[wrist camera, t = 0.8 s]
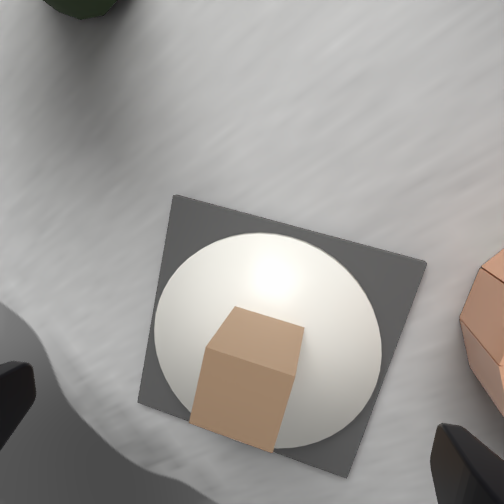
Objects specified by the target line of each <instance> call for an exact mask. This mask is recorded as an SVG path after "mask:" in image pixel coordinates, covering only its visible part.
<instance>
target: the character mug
mask: <svg viewBox="0 0 504 504" xmlns="http://www.w3.org/2000/svg"><path fill="white" fill-rule="evenodd" d="M43 1H45V2H46V3H47V4H49V5H50V6H52V7H53V8H54V9H56V10H57V11H59V12H61V13H63V14H66V15H69V16H72V17H75V18H77V19H80V20H82V19H87V18H92V17H97V16H103V15H104V14H105V13H106V12H107V11H108V10H109V9H110V8H111V7H112V6H113V5H114V4H115V2H116V1H117V0H43Z"/></svg>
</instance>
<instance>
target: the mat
mask: <svg viewBox="0 0 504 504" xmlns="http://www.w3.org/2000/svg"><path fill="white" fill-rule="evenodd" d="M257 232H264V233H277V234H281V235H286V236H291V237H294V238H297V239H300V240H303V241H306V242H308V243H310V244H312V245H314V246H316V247H318V248H320V249H322V250H323V251H325V252H326V253H328V254H329V255H331V256H332V257H334V258H335V259H336V260H337V261H339V262H340V263H341V264H342V265H343V266H344V267H346V268H347V270H348V271H349V272H350V273H351V274H352V275H353V276H354V277H355V279H356V280H357V281H358V283H359V284H360V285H361V287H362V288H363V290H364V291H365V293H366V295H367V297H368V299H369V301H370V303H371V305H372V307H373V310H374V313H375V316H376V319H377V323H378V326H379V332H380V337H381V350H382V358H381V366H380V373H379V376H378V380H377V383H376V386H375V388H374V391H373V393H372V395H371V397H370V399H369V400H368V402H367V403H366V405H365V407H364V408H363V410H362V411H361V412H360V413H359V414H358V415H357V416H356V417H355V419H354V420H353V421H351V422H350V423H349V424H348V425H347V426H345V427H344V428H343V429H342V430H340V431H338V432H337V433H335V434H333V435H332V436H330V437H328V438H325V439H323V440H321V441H319V442H316V443H312V444H309V445H306V446H300V447H294V448H279V449H277V448H274V450H273V452H275V453H278V454H281V455H284V456H286V457H289V458H292V459H295V460H298V461H300V462H303V463H306V464H309V465H311V466H314V467H317V468H320V469H322V470H325V471H328V472H331V473H333V474H336V475H339V476H342V477H344V478H347V477H348V474H349V471H350V469H351V466H352V463H353V461H354V458H355V455H356V453H357V450H358V447H359V445H360V442H361V439H362V437H363V434H364V431H365V429H366V426H367V423H368V421H369V418H370V415H371V413H372V410H373V407H374V405H375V402H376V399H377V397H378V394H379V391H380V388H381V386H382V383H383V380H384V378H385V375H386V372H387V370H388V367H389V364H390V362H391V359H392V356H393V354H394V351H395V348H396V346H397V343H398V340H399V338H400V335H401V332H402V330H403V327H404V324H405V322H406V319H407V316H408V314H409V311H410V308H411V306H412V303H413V300H414V297H415V295H416V292H417V289H418V287H419V284H420V281H421V279H422V276H423V273H424V271H425V268H426V265H427V263H426V262H425V261H423V260H419V259H415V258H412V257H408V256H404V255H400V254H397V253H393V252H389V251H385V250H382V249H378V248H374V247H370V246H367V245H363V244H359V243H355V242H352V241H348V240H344V239H341V238H337V237H333V236H329V235H326V234H322V233H318V232H314V231H311V230H307V229H303V228H299V227H296V226H292V225H288V224H284V223H281V222H277V221H273V220H269V219H266V218H262V217H258V216H255V215H251V214H247V213H243V212H240V211H236V210H232V209H228V208H225V207H221V206H217V205H213V204H210V203H206V202H202V201H198V200H195V199H191V198H187V197H183V196H180V195H173V199H172V205H171V211H170V217H169V223H168V228H167V234H166V240H165V246H164V252H163V257H162V263H161V269H160V275H159V281H158V286H157V292H156V298H155V304H154V309H153V315H152V321H151V327H150V333H149V338H148V344H147V350H146V356H145V362H144V367H143V373H142V379H141V385H140V391H139V396H138V403H140V404H143V405H146V406H149V407H151V408H154V409H157V410H160V411H162V412H165V413H168V414H171V415H173V416H176V417H179V418H182V419H184V420H187V421H189V420H190V416H191V412H189V410H188V409H187V408H186V407H185V406H184V405H183V404H182V403H181V402H180V400H179V399H178V398H177V396H176V395H175V394H174V392H173V391H172V389H171V387H170V386H169V384H168V382H167V380H166V379H165V376H164V374H163V372H162V369H161V367H160V364H159V360H158V357H157V353H156V346H155V338H154V325H155V315H156V311H157V307H158V303H159V300H160V297H161V295H162V292H163V290H164V288H165V286H166V285H167V283H168V281H169V279H170V278H171V277H172V275H173V274H174V273H175V271H176V270H177V269H178V268H179V267H180V266H181V265H182V264H183V263H184V262H185V261H186V260H187V259H188V258H189V257H191V256H192V255H194V254H195V253H197V252H198V251H199V250H201V249H202V248H204V247H206V246H208V245H210V244H212V243H214V242H216V241H218V240H221V239H224V238H227V237H230V236H234V235H239V234H244V233H257Z"/></svg>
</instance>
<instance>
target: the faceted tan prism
mask: <svg viewBox="0 0 504 504" xmlns="http://www.w3.org/2000/svg"><path fill="white" fill-rule="evenodd" d="M481 267H482V268H480V269H479V271H478V274H477V276H476V279H475V281H474V283H473V286H472V288H471V291H470V293H469V295H468V298H467V300H466V303H465V305H464V307H463V310H462V312H461V315H460V324H461V328H462V333H463V338H464V343H465V347H466V352H467V357H468V361H469V366H470V368H471V369H472V371H473V372H474V374H475V375H476V377H477V378H478V380H479V381H480V383H481V384H482V386H483V387H484V389H485V390H486V392H487V393H488V395H489V396H490V398H491V399H492V401H493V402H494V404H495V405H496V407H497V408H498V410H499V411H500V413H501V414H502V416H503V417H504V249H503V250H501V251H500V252H499V253H498V254H496V255H495V256H494V257H492V258H491V259H490V260H489V261H487V262H486V263H485V264H483V265H482V266H481Z"/></svg>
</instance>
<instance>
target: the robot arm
mask: <svg viewBox="0 0 504 504" xmlns="http://www.w3.org/2000/svg"><path fill="white" fill-rule="evenodd" d="M35 397H36V387H35V379H34V371H33V367H32V365H31V364H30V363H27V362H21V361H10V362H7V363H4V364H1V365H0V450H1V449H2V448H3V446H4V445H5V443H6V442H7V440H8V439H9V438H10V436H11V435H12V433H13V432H14V430H15V429H16V427H17V426H18V425H19V423H20V422H21V420H22V419H23V418H24V416H25V415H26V413H27V412H28V410H29V409H30V407H31V406H32V405H33V403H34V401H35ZM430 465H431V472H432V477H433V481H434V486H435V491H436V496H437V501H438V504H504V460H502V459H501V458H500V457H499V456H498V455H496V454H495V453H494V452H493V451H491V450H490V449H489V448H488V447H487V446H485V445H484V444H483V443H482V442H481V441H479V440H478V439H477V438H476V437H475V436H473V435H472V434H471V433H470V432H469V431H467V430H466V429H465V428H463V427H462V426H459V425H453V424H446V423H441V424H439V425H438V427H437V430H436V434H435V438H434V443H433V447H432V452H431V457H430Z"/></svg>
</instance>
